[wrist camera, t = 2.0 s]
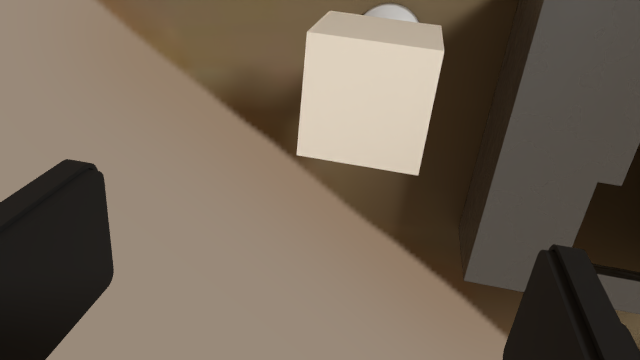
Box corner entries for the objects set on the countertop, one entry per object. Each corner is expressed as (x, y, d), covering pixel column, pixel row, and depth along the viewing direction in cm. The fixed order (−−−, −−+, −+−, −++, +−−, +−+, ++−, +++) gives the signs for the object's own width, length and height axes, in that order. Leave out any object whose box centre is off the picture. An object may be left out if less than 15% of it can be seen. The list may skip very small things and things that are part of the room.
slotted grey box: (526, -28, 29) (548, -16, 24) (841, 10, 27) (942, 32, 22) (458, 228, 37) (463, 280, 31) (698, 272, 35) (747, 334, 30)
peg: (353, -12, 31) (307, 31, 19) (437, -1, 30) (444, 51, 18) (343, 70, 33) (296, 155, 21) (421, 82, 33) (418, 175, 21)
